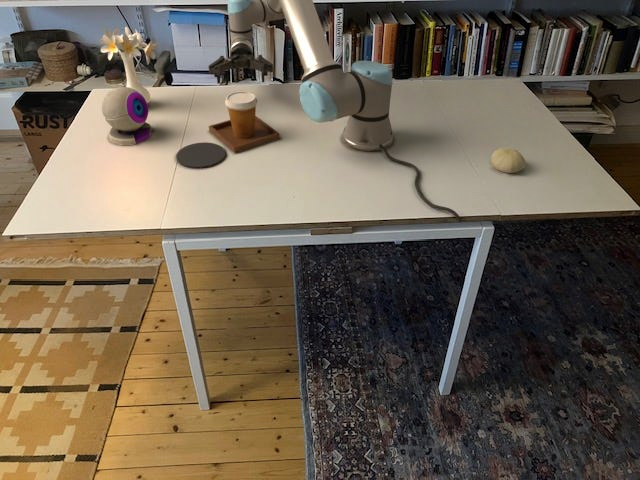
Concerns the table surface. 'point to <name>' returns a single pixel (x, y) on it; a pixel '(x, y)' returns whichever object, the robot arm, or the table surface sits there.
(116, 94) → the webcam
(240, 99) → the disposable coffee cup
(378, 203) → the table surface
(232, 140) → the tray
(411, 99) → the table surface
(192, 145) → the coaster
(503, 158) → the sea urchin shell
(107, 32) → the flower vase
